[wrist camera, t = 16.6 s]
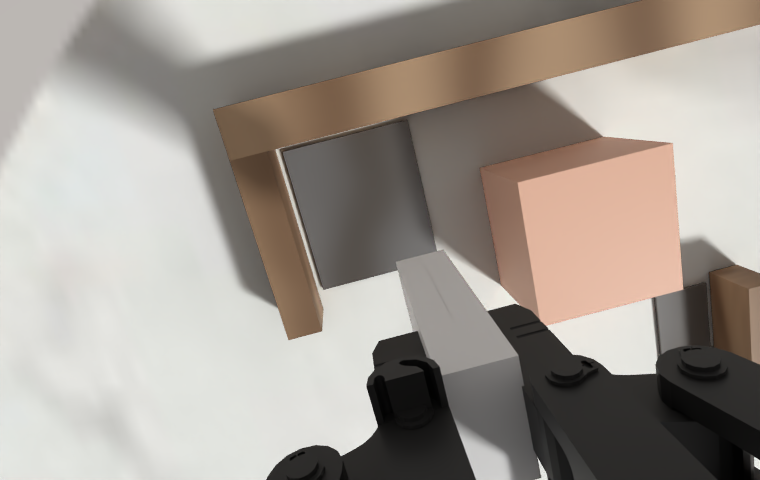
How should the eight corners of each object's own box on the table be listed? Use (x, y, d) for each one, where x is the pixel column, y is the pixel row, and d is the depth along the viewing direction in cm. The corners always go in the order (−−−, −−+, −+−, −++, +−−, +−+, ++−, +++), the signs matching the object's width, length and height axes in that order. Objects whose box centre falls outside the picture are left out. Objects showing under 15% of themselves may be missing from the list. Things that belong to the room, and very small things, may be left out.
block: (500, 284, 24) (540, 326, 20) (479, 167, 23) (517, 182, 18) (614, 254, 25) (683, 289, 20) (601, 136, 23) (672, 142, 18)
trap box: (360, 525, 27) (364, 593, 23) (226, 109, 21) (202, 109, 17) (918, 370, 28) (1011, 411, 24) (947, -74, 22) (1078, -114, 18)
